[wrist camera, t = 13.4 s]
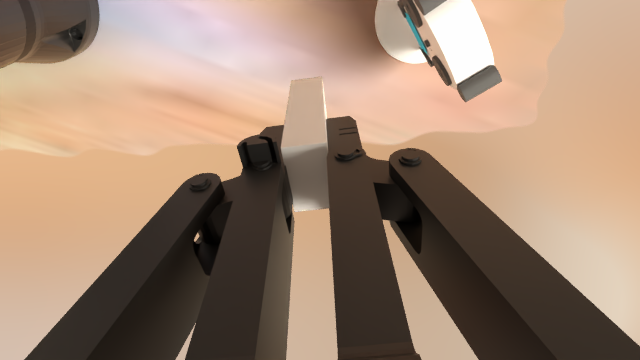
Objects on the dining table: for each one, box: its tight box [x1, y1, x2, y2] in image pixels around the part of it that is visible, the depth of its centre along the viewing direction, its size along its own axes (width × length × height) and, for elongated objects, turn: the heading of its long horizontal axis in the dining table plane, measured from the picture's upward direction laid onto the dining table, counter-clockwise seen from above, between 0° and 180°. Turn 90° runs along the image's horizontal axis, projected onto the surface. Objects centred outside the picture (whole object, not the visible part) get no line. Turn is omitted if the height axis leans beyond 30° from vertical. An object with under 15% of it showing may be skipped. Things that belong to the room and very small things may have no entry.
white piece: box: [375, 0, 502, 102], centre depth 35 cm, size 12×11×15 cm
